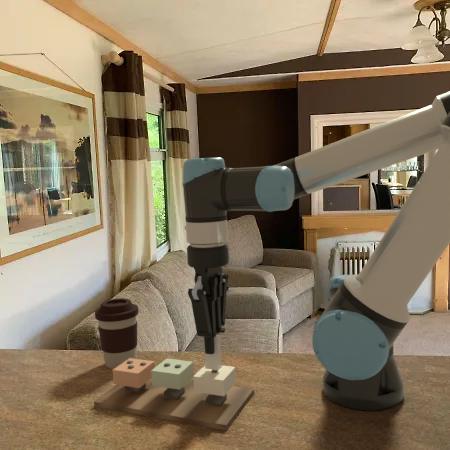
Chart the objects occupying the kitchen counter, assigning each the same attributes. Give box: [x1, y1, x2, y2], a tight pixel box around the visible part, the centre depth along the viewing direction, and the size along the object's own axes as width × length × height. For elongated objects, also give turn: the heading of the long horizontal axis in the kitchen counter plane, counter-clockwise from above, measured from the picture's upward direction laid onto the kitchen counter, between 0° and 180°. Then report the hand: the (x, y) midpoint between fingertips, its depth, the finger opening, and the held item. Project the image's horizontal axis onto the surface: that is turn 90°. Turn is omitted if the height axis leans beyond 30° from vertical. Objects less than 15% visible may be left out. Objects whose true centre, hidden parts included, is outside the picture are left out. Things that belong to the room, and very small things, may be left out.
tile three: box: [112, 358, 156, 388], centre depth 98 cm, size 6×6×3 cm
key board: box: [93, 378, 255, 431], centre depth 95 cm, size 28×14×2 cm, turn 67°
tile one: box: [192, 365, 237, 396], centre depth 91 cm, size 6×6×3 cm
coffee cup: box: [94, 297, 140, 370], centre depth 113 cm, size 10×10×15 cm
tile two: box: [151, 358, 195, 390], centre depth 94 cm, size 6×6×3 cm
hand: (213, 367), depth 90 cm, fingers closed
